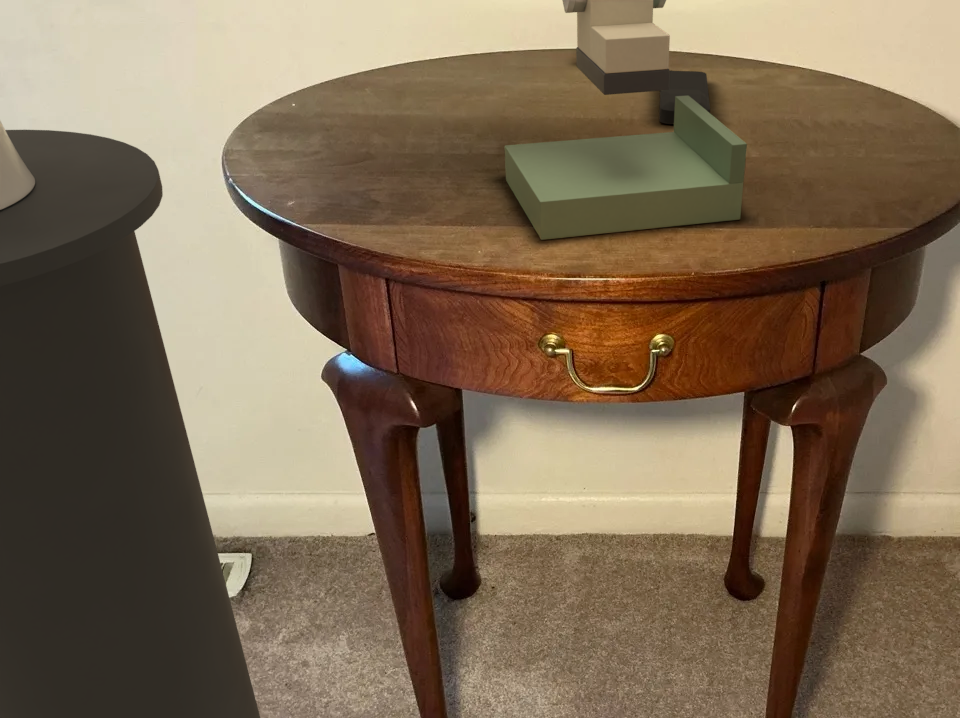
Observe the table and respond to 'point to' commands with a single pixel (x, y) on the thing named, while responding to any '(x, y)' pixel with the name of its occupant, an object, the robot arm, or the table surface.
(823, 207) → the table surface
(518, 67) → the table surface
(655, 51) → the beige stepped block
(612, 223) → the green l-shaped bracket
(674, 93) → the remote control
